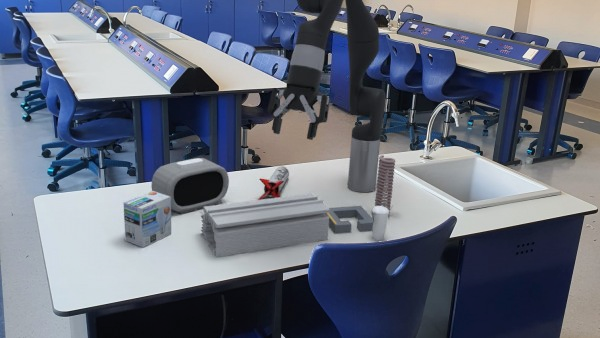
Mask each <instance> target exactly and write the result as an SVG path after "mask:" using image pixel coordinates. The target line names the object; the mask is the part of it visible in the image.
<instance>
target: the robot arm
mask: <svg viewBox="0 0 600 338" xmlns="http://www.w3.org/2000/svg"><path fill="white" fill-rule="evenodd" d="M344 1H345V9H346V31H347V32H346V36H347V37H346V38H347V51H348V52H347V53H348V64H349V67H348V68H349V81H348V82H349V87H348V88H349V89H348V107H349V111H350V113H351V114H352V115H354V116H359V117H365V118H366V117H367V118H370V120H369V122H367V123H364V124H360V125H355V126H354V127H353V128H351V129H352V130H351V139H350V150H349V151H350V152H349V162H348V164H349V166H348V176H347V188H348V189H349V190H351V191H354V192H358V193H370V192H373V191H375V190H376V189H377V188H376V187H377V177H378V170H379V169H378V167H379V157H380V145H381V136H382V129H383V122H384V121H383V120H384V114H385V108H386V93H385V90H383V89H381V88H375V87H368V86H364V85H363V79H364V75H365V74H366V72H367V71H368V70H369V69H368V68H370V66H371V65H372V63H373V62H374V61H375V59H376V57H377V55H378V53H379V50H380V29H379V27H378V24H377V22H376V21H375V19H374V17H373V15H372V14H371V13H370V11H369V9H368V8H367V7H366V5H365V3H364V1H363V0H296V2H297V6H298V7H299V8H300V10H301V11H303V12H305V13H309V14H318V15H317V17H316V18H313V19H309V20H305V21H302V22H300V24H299V26H298V31H297V34H296V41H295V45H294V49H293V52H292V55H291V59H290V63H289V71H288V75H287V80H286V85H285V89H284V90H282V89H279V88H277V87H273V88H272V91H271V94H270V98H269V100H268V106H267V108H266V109H267V110H266V112H267V113H269V114H270V115H272V116H273V122H272V127H271V130H272V131H273V134H275V135H276V134H277V135H280V134H281V128H282V123H283V118H282V117H284V116H285V115H286V114H287V113H289V112H290V111H291V110H292V111H295V112H296V111H300V112H303V113H306V114H307V116H308V118H309V120H310V122H309V124H308V128H307V129H308V130H307V134H306V140H310V141H313V139H314V138H316V136H317V132H318V126H319V124H322V123H327V122H328V116H329V108H330V103H331V97H330V96H327V94H323V95H319V93H318V92H319V88H320V84H321V78H322V73H323V69H324V64H325V63H324V62H325V56H326V55H325V54H326V47H327V43H328V39H329V38H328V37H329V34H330V31H331V29H332V28H333V24H334V22H335V20H336V18H337V17H338V15H339V13H340V10H341V9H342V6H343V2H344ZM282 98H284V101H283V102H282V103H281V104H280V105H279V103H280V100H281V99H282ZM317 102H318V104H319V105H320V107H319V111H318V112H319V113H318V115H317V111H316V109H315V107H314V106H315V104H316V103H317ZM278 106H279V107H278Z"/></svg>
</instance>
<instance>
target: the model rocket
mask: <svg viewBox="0 0 600 338" xmlns="http://www.w3.org/2000/svg"><path fill="white" fill-rule="evenodd" d="M289 176H290V171H289V169H288V168H287V167H286V166H278V167H277V168H276V169H274V171H273V173H272V174H271V176H270V177H269V179H266V178H261V177H260V178H259V180H260V182H261V183H262V184H263V185H264V187H263V194H262V195H261V196H260V197H259V198H258V199H257V200H262V199H264V198H265V197H266V196H268V197H270V198H278V197H281V196H280V195H281V194H280V192H281V190H282V189H283V186H284V185H285V183H286V181H287V180H288V178H289Z"/></svg>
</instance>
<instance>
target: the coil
mask: <svg viewBox="0 0 600 338" xmlns="http://www.w3.org/2000/svg"><path fill="white" fill-rule="evenodd" d="M395 166H396V159H395V158H392V157H385V155H384V154H381V155H379V158H378V169H377V178H376V188H375V190H376V192H375V199H374V201H375V202H374V207H375V206H384V207H386V208H387V209H388V210H389V215H390V214H391V210H390V209H391V207H392V205H391V203H392V195H393V193H392V192H393V187H394V185H393V184H394V183H393V182H394V177H395V176H394V175H395V169H396V168H395Z"/></svg>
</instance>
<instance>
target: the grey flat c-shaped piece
mask: <svg viewBox="0 0 600 338" xmlns="http://www.w3.org/2000/svg"><path fill="white" fill-rule="evenodd" d="M328 208H329V209H330V212H328V213H325V214H326V215H328V216H329V228H330V229H331V231H332V232H333V234H345V233H346V234H347V233H352V227H353V225H352V222H351V221H350V220H341V219H349V218H355V219H356V220H357V221H356V229H357V230H358V232H372V215H370V214H369V212H368V211H366V209H364V208H363V206H362V205H353V206H337V207H328Z"/></svg>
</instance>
